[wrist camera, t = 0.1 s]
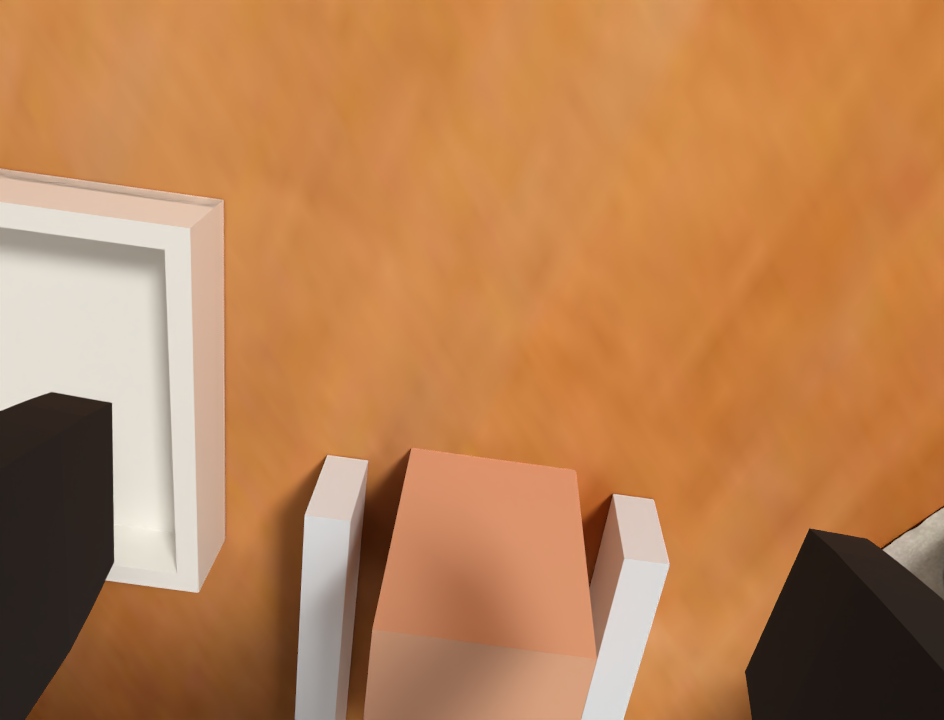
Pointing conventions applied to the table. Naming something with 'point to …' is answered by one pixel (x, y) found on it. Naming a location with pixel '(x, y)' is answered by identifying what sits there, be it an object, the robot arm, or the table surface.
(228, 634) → the table surface
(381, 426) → the table surface
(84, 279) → the tray
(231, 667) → the table surface
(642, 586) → the channel
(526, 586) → the block
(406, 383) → the table surface
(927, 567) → the condiment
